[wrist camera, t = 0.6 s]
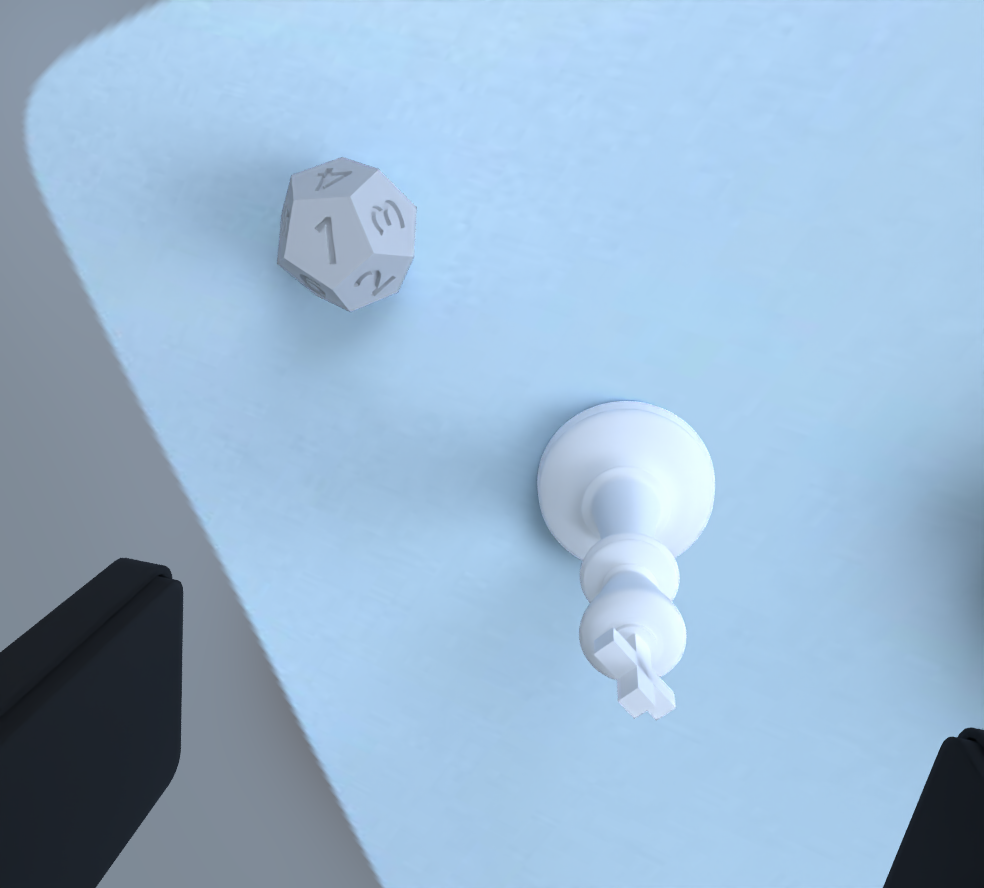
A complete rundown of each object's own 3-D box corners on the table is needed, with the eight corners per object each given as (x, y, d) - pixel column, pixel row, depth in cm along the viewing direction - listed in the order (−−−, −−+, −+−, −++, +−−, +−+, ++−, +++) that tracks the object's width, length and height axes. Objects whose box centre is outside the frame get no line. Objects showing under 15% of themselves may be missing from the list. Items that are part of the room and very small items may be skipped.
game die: (309, 303, 22) (266, 322, 20) (291, 162, 21) (242, 160, 18) (433, 299, 22) (408, 317, 19) (422, 153, 21) (392, 149, 18)
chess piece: (612, 594, 24) (615, 866, 15) (502, 473, 23) (429, 678, 14) (751, 496, 22) (855, 730, 13) (637, 364, 22) (660, 510, 12)
